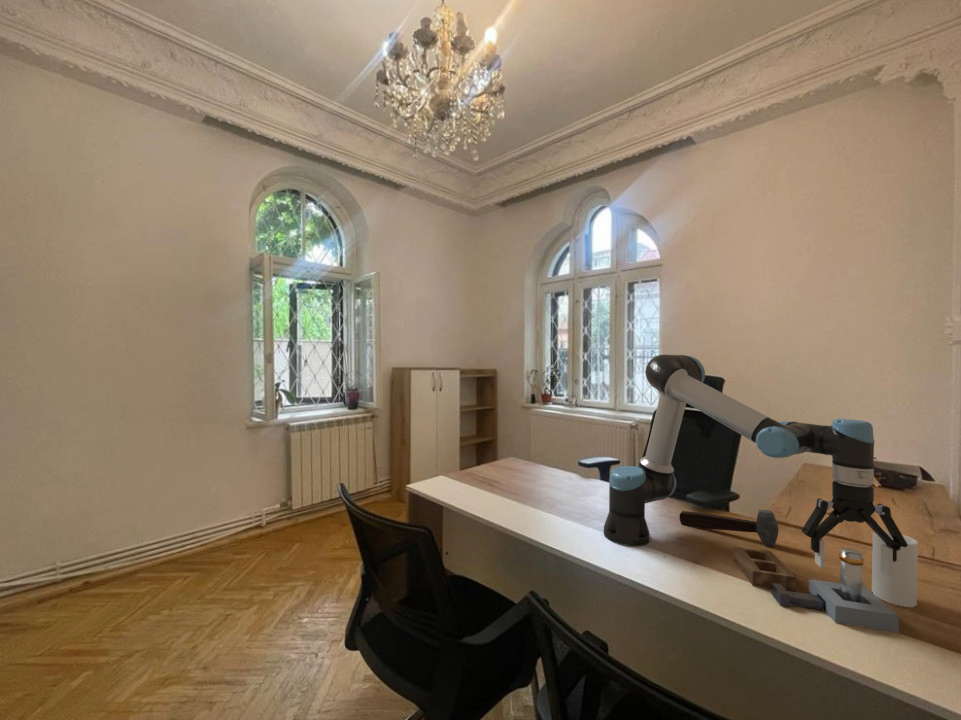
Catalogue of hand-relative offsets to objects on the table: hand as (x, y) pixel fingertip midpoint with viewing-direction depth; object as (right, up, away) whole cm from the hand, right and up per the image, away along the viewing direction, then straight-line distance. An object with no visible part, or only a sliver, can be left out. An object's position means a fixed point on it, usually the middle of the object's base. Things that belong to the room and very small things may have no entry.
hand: (852, 569), depth 98 cm
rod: (0, -11, 0) cm, 11 cm away
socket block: (0, -11, 0) cm, 11 cm away
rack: (-10, -10, +17) cm, 22 cm away
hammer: (-4, -11, +44) cm, 46 cm away
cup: (+17, -11, +7) cm, 21 cm away
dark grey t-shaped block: (-11, -10, +3) cm, 15 cm away
